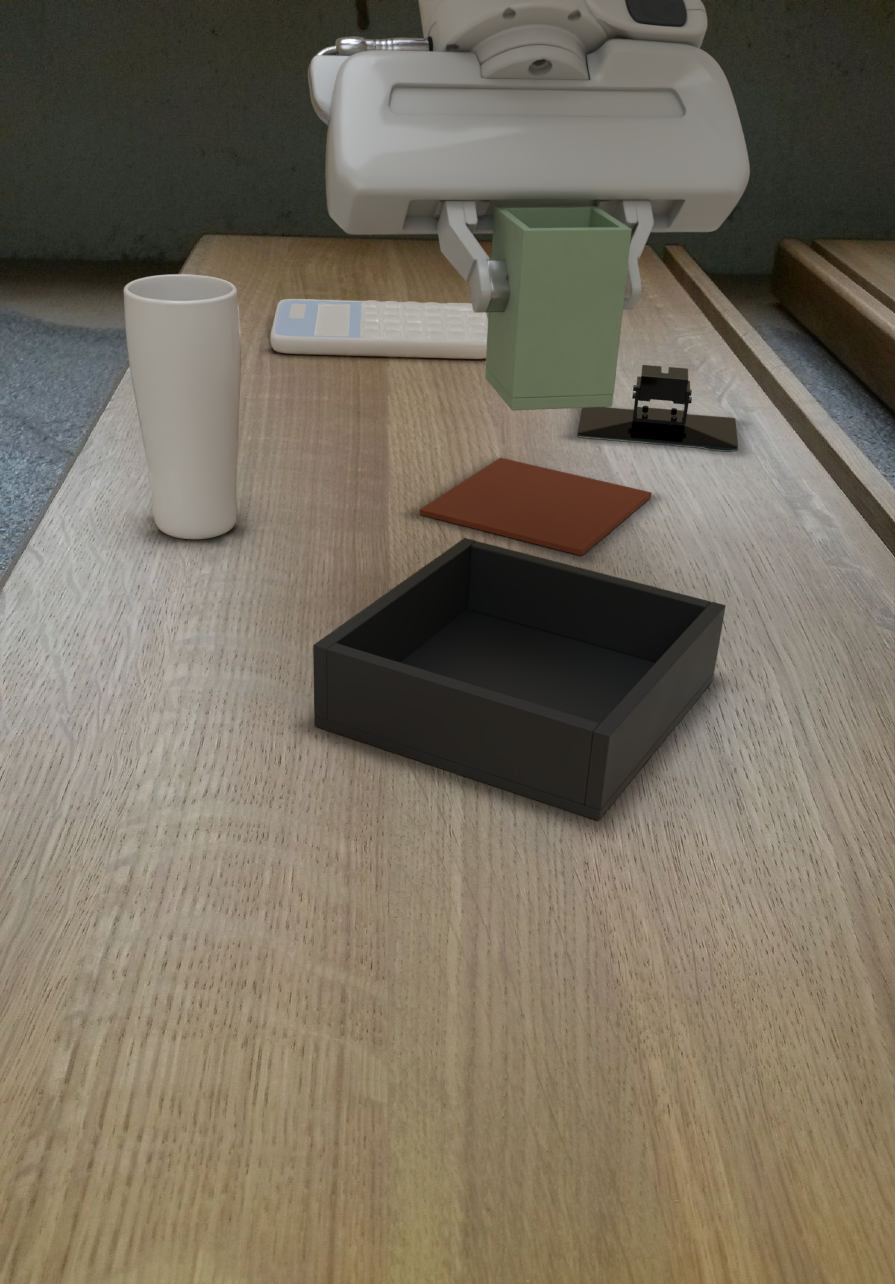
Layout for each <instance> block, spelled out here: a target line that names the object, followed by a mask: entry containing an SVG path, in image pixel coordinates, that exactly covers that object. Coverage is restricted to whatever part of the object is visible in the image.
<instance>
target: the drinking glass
mask: <svg viewBox="0 0 895 1284" xmlns="http://www.w3.org/2000/svg"><path fill="white" fill-rule="evenodd" d="M122 292H123V310H124V311H123V312H124V313H123V315H124V329H125V339H126V340H125V341H126V350H127V358H128V364H129V365H128V366H129V372H130V378H131V383H132V388H133V395H134V399H135V406H136V410H137V416H138V422H139V428H140V429H139V430H140V433H141V440H142V445H143V451H144V452H143V453H144V457H145V462H146V468H147V475H148V481H149V488H150V494H151V503H152V514H153V515H152V516H153V522H154V523H155V526H156V527H157V528H158V529H159V531H161V532H162V533H163V534H165V535H168V536H170V537H173V538H177V539H183V540H206V539H213V538H216V537H219V536H222V535H224V534H226V533H229V532H230V531H231V530H232V529H233V528H234V527H235V525H236V524H237V520H238V497H237V486H238V485H237V484H238V457H239V456H238V455H239V452H238V451H239V432H240V431H239V430H240V429H239V428H240V427H239V426H240V404H241V383H242V381H241V380H242V334H241V318H240V307H239V297H238V289H237V286H236V285H235V284H234V283H232V282H230V281H229V280H226V279H223V278H219V277H214V276H210V275H209V276H208V275H200V274H186V273H184V274H183V273H177V274H176V273H174V274H173V273H172V274H171V273H170V274H158V275H151V276H145V277H142V278H141V277H140V278H137V279H134V280H132V281H130V282H128V283H127V284H126V285H124V287H123V291H122Z"/></svg>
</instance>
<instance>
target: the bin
mask: <svg viewBox="0 0 895 1284" xmlns="http://www.w3.org/2000/svg"><path fill="white" fill-rule="evenodd" d="M726 607H727V605H726V604H723V603H719V602H716V601H710V600H707V599H702V598H699V597H695V596H692V595H687V594H683V593H680V592H676V591H671V590H667V589H664V588H662V587H661V588H660V587H656V586H652V585H649V584H645V583H641V582H637V581H633V580H630V579H625V578H622V577H618V576H613V575H610V574H606V573H602V572H598V571H594V570H590V569H586V568H584V567H579V566H575V565H571V564H568V563H564V562H559V561H555V560H552V559H548V558H544V557H540V556H536V555H532V554H529V553H525V552H520V551H517V550H513V549H509V548H506V547H502V546H497V545H494V544H489V543H486V542H482V541H479V540H475V539H471V538H467V537H464V538H462V539H460V540H459V541H458V542H457V543H455V544H454V545H453V546H450V547H449V548H448V549H447V550H445V551H444V552H442V553H441V554H440V555H438V556H437V557H435V558H434V559H432V560H431V561H430V562H428V563H427V564H426V565H424V566H423V567H421V568H420V569H418V570H417V571H415V572H414V573H412V574H411V575H409V576H408V577H407V578H406V579H404V580H403V581H401V582H400V583H399V584H397V585H395V587H393V588H391V589H390V590H389V591H387V592H386V593H385V594H383V595H382V596H381V597H379V598H377V599H376V600H375V601H373V602H371V603H370V604H369V605H367V606H366V607H365V608H364V609H362V610H361V611H359V612H357V613H356V614H355V615H353V616H352V617H350V618H349V619H348V620H346V621H345V622H344V623H342V624H341V625H339V626H338V627H337V628H335V629H333V630H332V631H331V632H329V633H328V634H327V635H325V636H324V637H323V638H321V639H320V640H318V641H316V643H314V644H313V645H312V649H313V650H312V655H313V657H312V658H313V659H312V660H313V663H312V665H313V709H314V710H313V714H314V715H313V716H314V717H313V718H314V720H313V721H314V722H313V723H314V724H313V725H314V726H315V727H317V728H319V729H322V730H326V731H329V732H332V733H334V734H338V735H340V736H343V737H344V736H345V737H346V738H349V739H352V740H355V741H358V742H361V743H365V744H368V745H370V746H372V747H373V746H374V747H377V748H380V749H383V750H386V751H389V752H392V753H394V754H397V755H401V756H404V757H406V758H410V759H413V760H415V761H418V762H422V763H424V764H427V765H430V766H434V767H436V768H439V769H442V770H445V771H448V772H451V773H454V774H458V775H461V776H464V777H466V778H470V779H472V780H476V781H479V782H482V783H483V784H488V785H490V786H494V787H497V788H500V789H503V790H505V791H508V792H512V793H515V794H518V795H521V796H523V797H526V798H529V799H532V800H534V801H535V800H536V801H538V802H541V803H544V804H547V805H550V806H554V807H557V808H559V809H562V810H565V811H569V812H572V813H574V814H578V815H581V816H583V817H587V818H589V819H593V820H596V821H600V820H601V818H602V817H604V815H605V814H606V812H607V811H608V810H609V809H610V808H611V806H612V805H613V804H614V803H615V802H616V800H617V799H618V798H619V797H620V795H621V794H622V793H623V791H625V789H626V788H627V787H628V786H629V784H631V782H632V781H633V779H634V778H635V777H636V776H637V774H638V773H639V772H640V771H641V769H643V767H644V766H645V765H646V763H648V761H649V760H650V759H651V757H652V756H653V755H654V753H656V751H657V750H658V749H659V748H660V746H661V745H662V744H663V743H664V742H665V740H666V739H667V738H668V736H669V735H670V734H671V733H672V731H673V730H674V729H675V728H676V727H677V726H678V725H679V724H680V722H681V721H682V720H683V718H684V717H685V716H686V714H687V713H688V712H689V711H690V710H691V708H692V707H693V706H694V705H695V704H696V702H697V701H698V700H699V699H700V697H701V696H702V695H703V694H704V692H706V690H707V688H709V686H710V685H711V684H712V682H714V676H715V670H716V665H717V658H718V652H719V648H720V647H719V646H720V642H721V637H722V631H723V624H724V618H725V614H726V613H725V612H726Z"/></svg>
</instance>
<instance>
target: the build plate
mask: <svg viewBox="0 0 895 1284" xmlns="http://www.w3.org/2000/svg"><path fill="white" fill-rule="evenodd" d="M662 369H663V367H662V366H661V365H651V364H650V365H649V364H642V365H641V372H640V376H636V384H633V386H632V397H631V398H632V399H633V408H624V407H613V406H611V407H590V408H581V412H580V417H579V423H578V428H577V435H576V436H577V437H578V438H585V439H597V440H609V441H621V442H632V443H641V444H642V443H643V444H654V445H665V446H666V445H667V446H677V447H678V446H679V447H689V448H701V449H706V450H708V451H709V450H710V451H721V452H733V451H735V452H736V451H739V440H738V432H737V431H738V430H737V422H736V418H735V417H729V416H717V415H707V414H706V415H705V414H694V413H688V409H689V405H690V404H692V401H693V397H692V393H693V390H692V389H691V380H689V368H685V367H674V366H669V367H668V369H667V372H662V371H663V370H662ZM651 400H653V401H666V402H672V404H673V405H682V408H681V410H680V409H678V408H677V407H671V409H670V408H658V407H649V406H648V405H642V406H639V402H651Z"/></svg>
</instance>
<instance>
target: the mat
mask: <svg viewBox="0 0 895 1284" xmlns="http://www.w3.org/2000/svg"><path fill="white" fill-rule="evenodd" d="M651 498H652V492H651V491H647V490H643V489H639V488H634V487H630V486H626V485H621V484H616V483H612V482H608V481H604V480H599V479H596V478H590V477H586V476H582V475H578V474H573V473H569V472H565V471H561V470H555V469H552V468H547V467H543V466H539V465H534V464H530V463H525V462H521V461H518V460H517V461H516V460H512V459H508V458H504V457H499V458H497V459H496V460H494V461H493V462H491V463H489V464H488V465H487V466H485V467H483V468H481V469H480V470H479V471H477V472H475V473H474V474H473V475H471V476H470V477H468V478H466V479H464V480H463V481H462V482H460V483H458V484H457V485H455V486H454V487H452V488H451V489H449V490H447V491H446V492H445V493H443V494H441V495H439V496H438V497H436V498H435V499H433V500H431V501H430V502H429V503H427V504H426V505H424V506H423V507H421V508H420V509H419V515H420V516H425V517H428V518H432V519H436V520H439V521H444V522H447V523H452V524H455V525H459V526H464V527H466V528H472V529H476V530H480V531H483V532H488V533H491V534H495V535H500V536H503V537H507V538H511V539H515V540H519V541H522V542H525V543H526V542H527V543H530V544H534V545H538V546H543V547H546V548H551V549H554V550H558V551H563V552H566V553H570V554H574V555H577V556H581V557H582V556H583V555H584V554H586V553H587V552H588V551H589V550H591V549H592V548H593V547H595V545H596V544H598V543H599V542H600V541H601V540H602V539H603V538H605V537H606V536H607V535H608V534H609V533H611V532H612V531H613V530H614V529H615V528H617V527H618V526H619V525H620V524H622V523H623V522H624V521H625V520H626V519H627V518H628V517H630V516H631V515H632V514H633V513H634V512H635V511H637V510H638V509H640V508H641V506H643V505H644V504H645V503H646V502H647V501H649V500H650V499H651Z"/></svg>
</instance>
